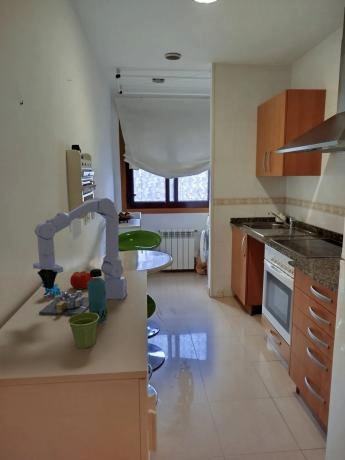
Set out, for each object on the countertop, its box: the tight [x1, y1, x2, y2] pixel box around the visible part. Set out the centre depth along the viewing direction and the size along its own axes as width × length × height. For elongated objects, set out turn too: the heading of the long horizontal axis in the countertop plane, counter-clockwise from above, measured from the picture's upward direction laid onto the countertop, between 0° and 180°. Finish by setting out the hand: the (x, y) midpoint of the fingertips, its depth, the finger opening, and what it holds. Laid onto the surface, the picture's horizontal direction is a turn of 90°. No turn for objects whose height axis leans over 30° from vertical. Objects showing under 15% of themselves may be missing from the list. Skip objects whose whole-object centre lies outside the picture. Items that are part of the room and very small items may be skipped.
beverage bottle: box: [87, 268, 108, 324], centre depth 118 cm, size 6×7×20 cm
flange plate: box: [38, 296, 89, 317], centre depth 136 cm, size 17×17×1 cm
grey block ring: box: [53, 289, 84, 313], centre depth 134 cm, size 11×14×4 cm
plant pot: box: [67, 311, 99, 349], centre depth 104 cm, size 9×9×9 cm
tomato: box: [69, 270, 94, 290], centre depth 160 cm, size 11×11×8 cm
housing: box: [61, 292, 76, 301], centre depth 136 cm, size 6×6×5 cm
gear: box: [41, 281, 62, 297], centre depth 150 cm, size 11×6×10 cm
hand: (49, 288), depth 129 cm, fingers closed
